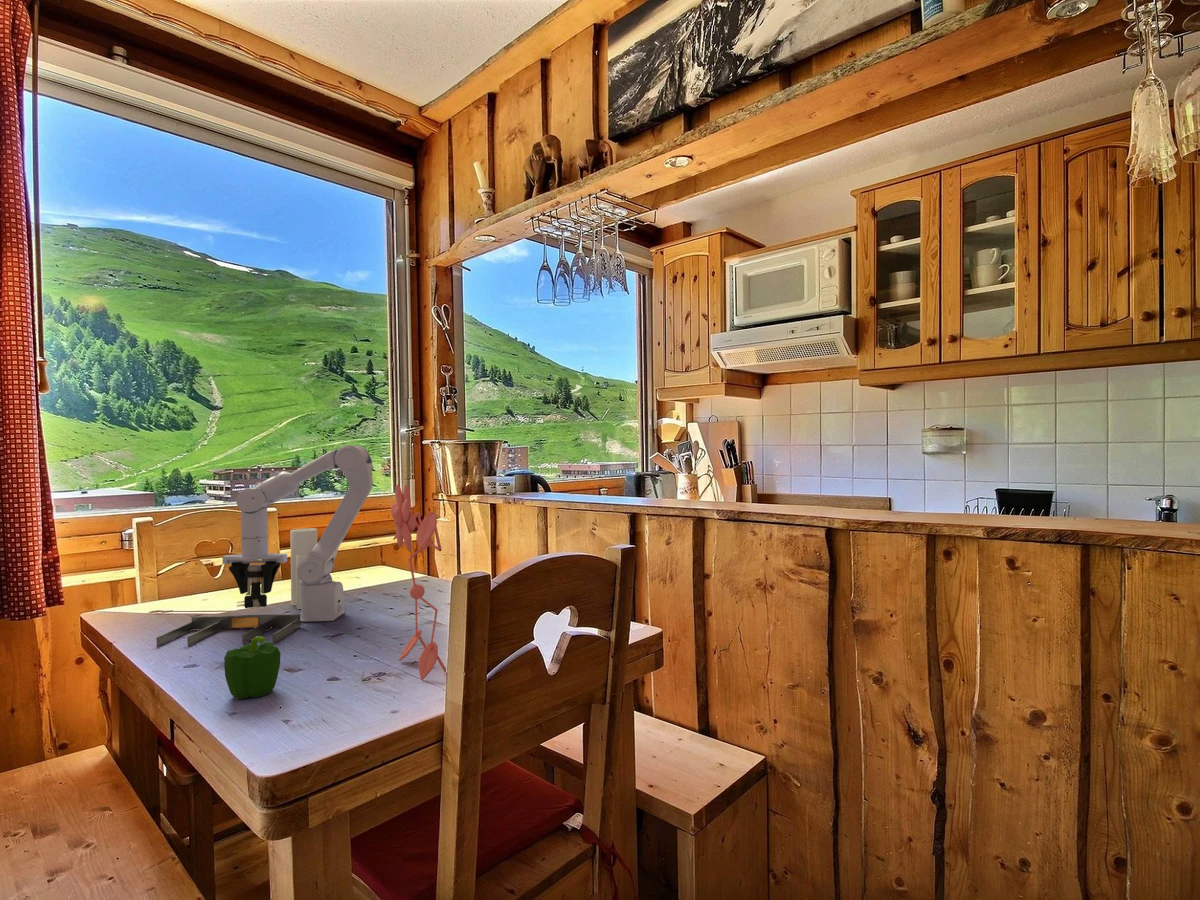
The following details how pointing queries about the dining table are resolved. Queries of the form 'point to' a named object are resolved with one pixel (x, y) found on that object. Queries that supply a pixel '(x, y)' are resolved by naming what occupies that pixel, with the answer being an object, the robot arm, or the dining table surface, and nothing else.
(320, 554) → the robot arm
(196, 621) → the rack
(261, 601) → the push button
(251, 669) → the bell pepper
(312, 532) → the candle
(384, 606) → the dining table surface
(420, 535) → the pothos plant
